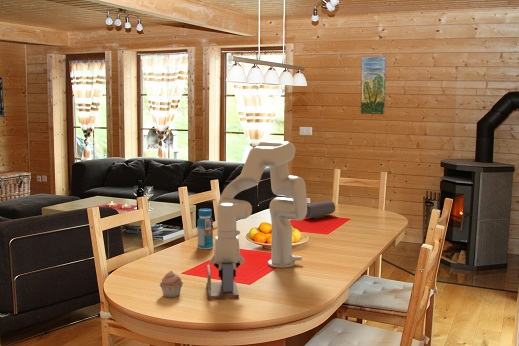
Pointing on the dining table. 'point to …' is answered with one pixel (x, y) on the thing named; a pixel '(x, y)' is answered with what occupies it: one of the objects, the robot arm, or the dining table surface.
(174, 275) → the cupcake
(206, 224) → the beverage bottle
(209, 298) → the bent wood veneer panel
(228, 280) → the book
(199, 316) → the dining table surface
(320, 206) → the bluetooth speaker
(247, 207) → the robot arm
